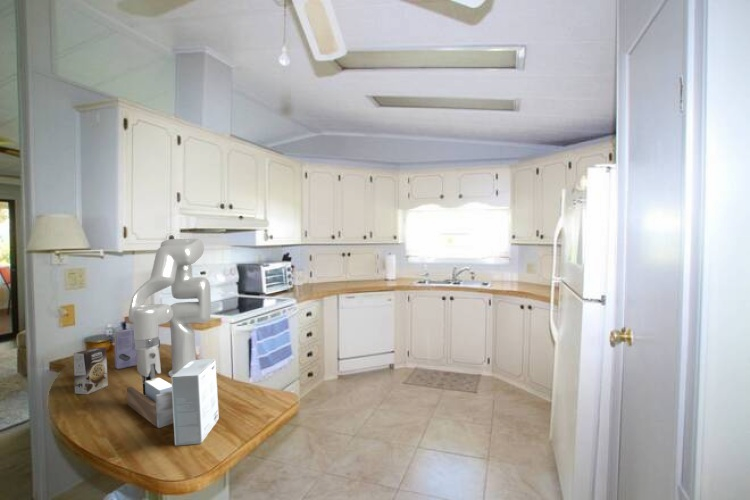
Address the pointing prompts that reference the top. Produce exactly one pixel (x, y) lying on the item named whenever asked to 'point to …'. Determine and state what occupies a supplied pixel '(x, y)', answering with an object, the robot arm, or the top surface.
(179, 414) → the hard drive box
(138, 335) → the robot arm
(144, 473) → the top surface
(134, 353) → the cake pan box
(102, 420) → the top surface
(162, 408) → the book rack
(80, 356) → the coffee box
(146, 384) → the boxed book
